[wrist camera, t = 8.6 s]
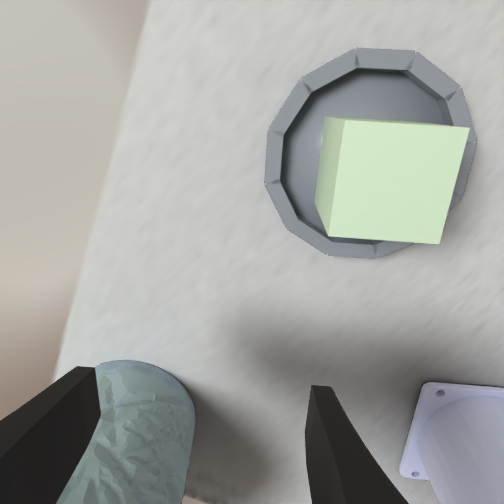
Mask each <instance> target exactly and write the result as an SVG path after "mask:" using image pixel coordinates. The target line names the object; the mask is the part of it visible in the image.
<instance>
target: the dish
mask: <svg viewBox="0 0 504 504" xmlns="http://www.w3.org/2000/svg"><path fill="white" fill-rule="evenodd" d="M459 87H460V85H459V84H458V83H456V82H455V81H454V80H453V79H451V78H450V77H449V76H448V75H446V74H445V73H444V72H443V71H441V70H440V69H439V68H437V67H436V66H435V65H434V64H432V63H431V62H430V61H429V60H427V59H426V58H425V57H424V56H422V55H421V54H420V53H419V52H415V51H411V50H391V49H371V48H356V49H352V50H350V51H349V52H347V53H345V54H343V55H341V56H340V57H338V58H336V59H334V60H332V61H330V62H329V63H327V64H325V65H323V66H321V67H320V68H318V69H316V70H314V71H312V72H310V73H309V74H307V75H305V76H303V77H301V78H300V79H299V80H298V82H297V83H296V85H295V87H294V88H293V90H292V91H291V93H290V94H289V96H288V98H287V99H286V101H285V102H284V103H283V105H282V107H281V108H280V110H279V112H278V113H277V115H276V117H275V118H274V120H273V121H272V123H271V124H270V126H269V129H270V130H268V134H267V149H266V165H265V180H264V183H265V187H266V189H267V191H268V193H269V195H270V197H271V199H272V201H273V203H274V205H275V207H276V209H277V211H278V213H279V215H280V217H281V219H282V221H283V223H284V225H285V227H286V228H287V230H289V231H290V232H292V233H293V234H295V235H296V236H298V237H299V238H301V239H302V240H304V241H306V242H307V243H309V244H310V245H312V246H313V247H315V248H316V249H318V250H319V251H321V252H322V253H324V254H328V255H330V256H344V257H359V258H373V259H375V257H377V258H379V257H382V256H384V255H386V254H389V253H391V252H394V251H396V250H399V249H401V248H403V247H406V246H408V245H411V244H413V243H415V242H401V241H387V240H373V239H359V238H345V237H332V236H328V234H327V232H326V230H325V227H324V225H323V222H322V220H321V218H320V215H319V213H318V210H317V208H316V205H315V203H314V202H315V194H316V186H317V178H318V169H319V161H320V153H321V145H322V137H323V129H324V121H325V116H332V117H348V118H364V119H380V120H396V121H412V122H422V123H431V124H440V125H449V126H458V127H467V128H470V130H469V133H468V137H467V141H466V145H465V149H464V152H463V156H462V160H461V164H460V168H459V171H458V175H457V179H456V183H455V186H454V190H453V194H452V198H451V202H450V205H449V209H448V212H449V211H450V210H451V209H452V208H453V207H454V206H455V205H456V204H457V202H458V201H459V200H460V199H461V197H460V196H463V193H464V190H465V186H466V182H467V178H468V175H469V171H470V167H471V164H472V160H473V156H474V153H475V149H476V145H477V143H475V141H477V138H476V135H475V131H474V128H473V124H472V121H471V117H470V114H469V110H468V107H467V103H466V100H465V96H464V93H463V89H462V88H459ZM458 195H460V196H458ZM447 214H448V213H447Z"/></svg>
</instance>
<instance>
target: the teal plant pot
mask: <svg viewBox="0 0 504 504" xmlns="http://www.w3.org/2000/svg"><path fill="white" fill-rule="evenodd" d="M95 371H96V379H97V387H98V394H99V402H100V410H101V416H100V419H99V421H98V424H97V426H96V429H95V431H94V434H93V436H92V438H91V441H90V443H89V445H88V447H87V449H86V451H85V453H84V455H83V456H82V458H81V460H80V462H79V464H78V465H77V467H76V469H75V471H74V473H73V474H72V476H71V478H70V480H69V481H68V483H67V485H66V487H65V488H64V490H63V492H62V494H61V496H60V497H59V499H58V501H57V503H56V504H182V498H183V496H184V492H185V486H186V479H187V470H188V469H189V466H190V464H189V462H190V457H191V447H192V443H193V438H194V431H195V423H196V418H195V409H194V404H193V402H192V399H191V397H190V395H189V394H188V392H187V390H186V389H185V388H184V387H183V386H182V384H181V383H180V382H179V381H178V380H177V379H175V378H174V377H173V376H172V375H170V374H169V373H167V372H165V371H164V370H162V369H160V368H158V367H155V366H153V365H150V364H147V363H143V362H138V361H130V360H119V361H111V362H105V363H102V364H100V365H98V366H96V367H95Z"/></svg>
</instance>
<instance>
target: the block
mask: <svg viewBox="0 0 504 504" xmlns="http://www.w3.org/2000/svg"><path fill="white" fill-rule="evenodd" d="M469 130H470V128H467V127H458V126H449V125H440V124H431V123H422V122H412V121H396V120H380V119H364V118H348V117H332V116H325V121H324V129H323V137H322V145H321V153H320V161H319V169H318V178H317V186H316V194H315V202H314V203H315V205H316V208H317V210H318V213H319V215H320V218H321V220H322V222H323V225H324V227H325V230H326V232H327V234H328V236H332V237H345V238H359V239H373V240H387V241H401V242H415V243H428V244H439V243H440V240H441V236H442V232H443V228H444V224H445V221H446V217H447V213H448V209H449V205H450V202H451V198H452V194H453V190H454V186H455V183H456V179H457V175H458V171H459V168H460V164H461V160H462V156H463V152H464V149H465V145H466V141H467V137H468V133H469Z"/></svg>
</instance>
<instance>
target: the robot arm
mask: <svg viewBox="0 0 504 504" xmlns="http://www.w3.org/2000/svg"><path fill="white" fill-rule="evenodd" d="M439 390H441V391H440V392H437V391H439ZM100 416H101V410H100V402H99V394H98V387H97V379H96V371H95V368H92V367H80V366H77V367H75V368H74V369H72V370H71V371H70V372H68V373H67V374H65V375H64V376H63V377H61V378H60V379H59V380H57V381H56V382H55V383H53V384H52V385H50V386H49V387H48V388H46V389H45V390H44V391H42V392H41V393H40V394H38V395H37V396H35V397H34V398H33V399H31V400H30V401H28V402H27V403H26V404H24V405H23V406H21V407H20V408H19V409H17V410H16V411H14V412H13V413H11V414H10V415H8V416H7V417H5V418H4V419H2V420H1V421H0V504H56V503H57V501H58V499H59V497H60V496H61V494H62V492H63V490H64V488H65V487H66V485H67V483H68V481H69V480H70V478H71V476H72V474H73V473H74V471H75V469H76V467H77V465H78V464H79V462H80V460H81V458H82V456H83V455H84V453H85V451H86V449H87V447H88V445H89V443H90V441H91V438H92V436H93V434H94V431H95V429H96V426H97V424H98V421H99V419H100ZM305 446H306V465H307V472H308V479H309V485H310V492H311V499H312V504H409V503H408V502H407V501H406V500H405V498H404V497H403V496H402V495H401V493H400V492H399V491H398V490H397V489H396V487H395V486H394V485H393V483H392V482H391V481H390V480H389V478H388V477H387V476H386V474H385V473H384V472H383V470H382V469H381V467H380V466H379V465H378V463H377V462H376V460H375V459H374V458H373V456H372V455H371V453H370V452H369V450H368V449H367V447H366V446H365V444H364V443H363V441H362V440H361V438H360V436H359V435H358V433H357V432H356V430H355V429H354V427H353V425H352V424H351V422H350V420H349V419H348V417H347V415H346V413H345V412H344V410H343V408H342V406H341V404H340V402H339V401H338V399H337V397H336V395H335V393H334V391H333V389H332V388H331V387H328V386H316V385H311V392H310V399H309V406H308V414H307V421H306V428H305ZM399 472H400V474H401V476H402V477H404V478H410V479H421V480H430V483H431V485H432V487H433V490H434V492H435V495H436V497H437V499H438V502H439V504H504V388H499V387H487V386H474V385H462V384H449V383H436V382H428V383H426V384H424V385H423V387H422V389H421V392H420V396H419V399H418V403H417V406H416V410H415V414H414V417H413V421H412V424H411V428H410V431H409V435H408V438H407V442H406V445H405V449H404V452H403V456H402V459H401V463H400V466H399Z"/></svg>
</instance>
